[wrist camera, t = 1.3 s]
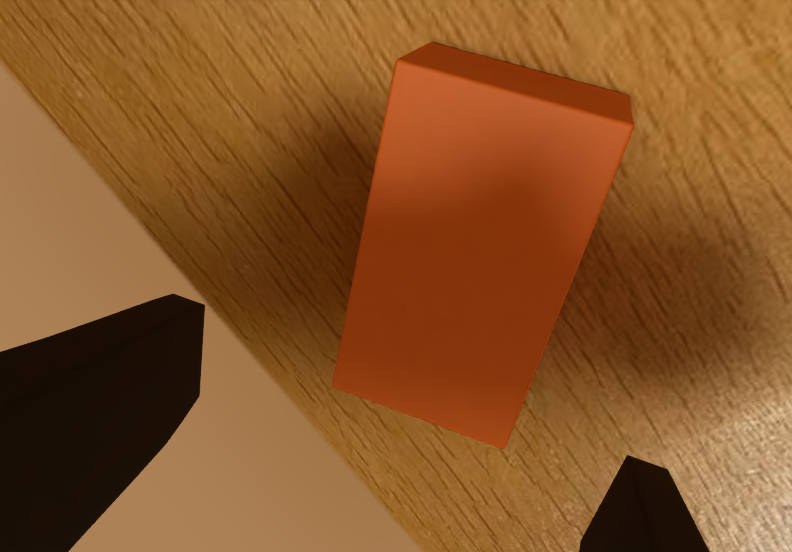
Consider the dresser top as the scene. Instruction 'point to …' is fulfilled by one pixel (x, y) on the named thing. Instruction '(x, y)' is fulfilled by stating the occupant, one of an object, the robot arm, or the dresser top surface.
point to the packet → (474, 234)
